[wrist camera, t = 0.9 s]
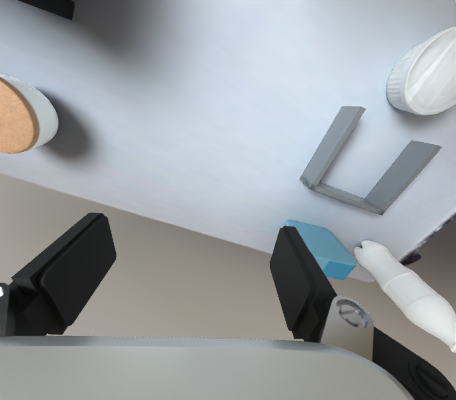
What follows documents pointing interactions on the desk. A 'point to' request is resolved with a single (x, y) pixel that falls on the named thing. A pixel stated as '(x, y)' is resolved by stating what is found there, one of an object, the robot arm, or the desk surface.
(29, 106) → the lidded jar
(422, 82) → the ramekin
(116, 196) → the desk surface
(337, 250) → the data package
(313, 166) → the box
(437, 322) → the water bottle
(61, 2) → the uninterruptible power supply
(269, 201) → the desk surface
